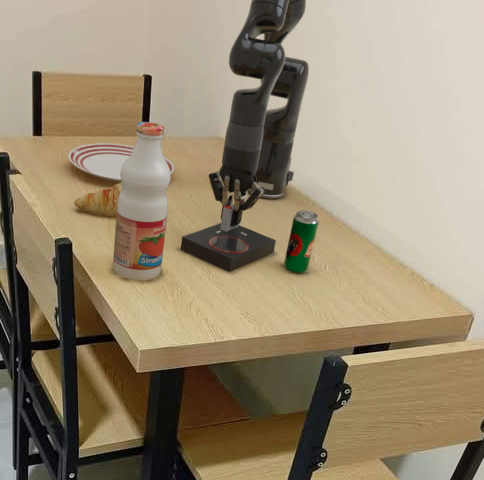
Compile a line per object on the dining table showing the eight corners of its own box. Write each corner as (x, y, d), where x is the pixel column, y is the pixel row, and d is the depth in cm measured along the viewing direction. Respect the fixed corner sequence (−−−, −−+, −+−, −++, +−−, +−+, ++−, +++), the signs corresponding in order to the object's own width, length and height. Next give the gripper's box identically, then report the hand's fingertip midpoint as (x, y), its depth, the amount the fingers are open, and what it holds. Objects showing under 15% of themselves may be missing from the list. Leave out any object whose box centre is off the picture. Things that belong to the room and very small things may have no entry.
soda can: (306, 276, 151) (319, 221, 145) (282, 271, 151) (293, 216, 145) (308, 266, 155) (320, 212, 149) (284, 261, 156) (295, 207, 149)
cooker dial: (232, 224, 162) (236, 201, 159) (238, 226, 161) (242, 203, 159) (219, 229, 159) (223, 206, 156) (225, 231, 158) (229, 208, 155)
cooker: (223, 229, 167) (225, 216, 165) (276, 251, 160) (279, 238, 158) (174, 247, 155) (176, 233, 154) (229, 272, 148) (231, 257, 146)
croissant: (76, 230, 165) (80, 206, 158) (69, 195, 170) (72, 171, 163) (166, 227, 172) (174, 204, 165) (157, 193, 176) (164, 170, 170)
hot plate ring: (224, 233, 157) (225, 232, 157) (256, 247, 153) (257, 246, 153) (200, 242, 151) (200, 241, 151) (232, 257, 147) (233, 256, 147)
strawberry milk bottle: (124, 256, 148) (137, 114, 134) (168, 268, 146) (185, 125, 131) (103, 273, 141) (114, 125, 126) (149, 286, 138) (165, 136, 124)
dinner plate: (192, 175, 197) (194, 163, 195) (133, 199, 177) (134, 185, 175) (110, 149, 208) (111, 137, 206) (45, 168, 188) (45, 155, 186)
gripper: (281, 150, 150) (265, 230, 159) (225, 132, 156) (213, 210, 165) (261, 156, 145) (247, 238, 154) (205, 138, 151) (194, 218, 160)
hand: (229, 223), depth 160 cm, fingers closed on cooker dial
